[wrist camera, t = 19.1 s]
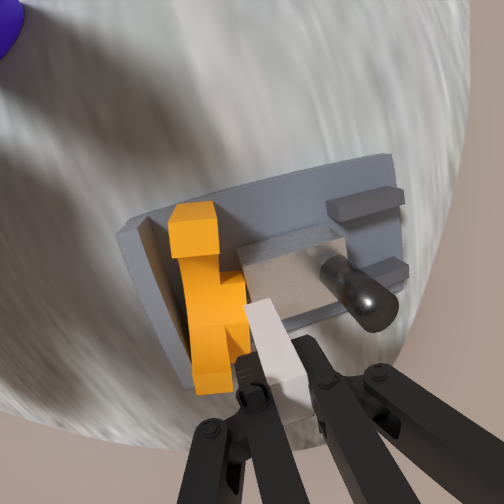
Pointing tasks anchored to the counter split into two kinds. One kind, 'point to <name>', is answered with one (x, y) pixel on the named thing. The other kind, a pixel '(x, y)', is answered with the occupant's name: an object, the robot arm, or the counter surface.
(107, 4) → the counter surface
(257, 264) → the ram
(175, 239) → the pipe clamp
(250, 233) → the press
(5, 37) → the bottle
